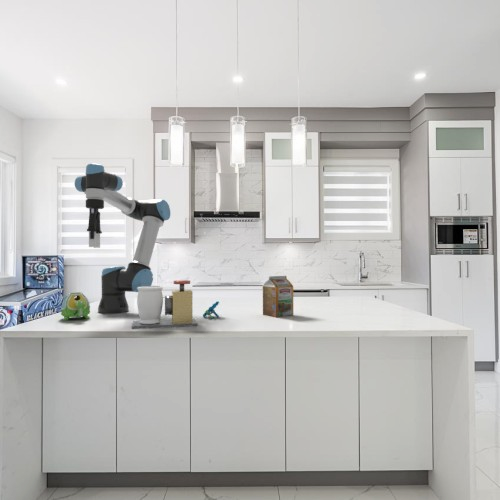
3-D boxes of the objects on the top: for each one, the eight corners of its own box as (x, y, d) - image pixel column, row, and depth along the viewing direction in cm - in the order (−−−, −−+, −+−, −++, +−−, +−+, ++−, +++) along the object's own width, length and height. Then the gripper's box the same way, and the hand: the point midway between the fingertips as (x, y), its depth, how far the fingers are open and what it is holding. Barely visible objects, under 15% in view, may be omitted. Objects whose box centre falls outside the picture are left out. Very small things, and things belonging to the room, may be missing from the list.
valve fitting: (133, 323, 167) (133, 280, 167) (194, 320, 173) (194, 279, 174) (131, 328, 154) (132, 282, 155) (197, 325, 161) (197, 281, 161)
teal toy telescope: (207, 311, 191) (220, 297, 187) (216, 320, 190) (228, 306, 187) (197, 318, 180) (210, 303, 177) (206, 327, 179) (219, 313, 176)
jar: (156, 325, 156) (156, 287, 156) (132, 324, 158) (132, 287, 159) (167, 321, 167) (166, 285, 167) (144, 320, 169) (144, 285, 169)
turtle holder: (65, 323, 168) (65, 295, 168) (58, 318, 183) (58, 292, 183) (95, 320, 175) (95, 294, 175) (86, 315, 190) (86, 291, 190)
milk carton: (275, 317, 182) (275, 276, 183) (262, 314, 191) (262, 275, 191) (293, 315, 188) (293, 276, 188) (280, 313, 197) (279, 275, 197)
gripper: (90, 202, 184) (90, 247, 184) (80, 194, 160) (80, 246, 160) (107, 203, 186) (106, 247, 186) (100, 195, 162) (100, 246, 162)
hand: (94, 247), depth 173 cm, fingers open, 13 cm apart
